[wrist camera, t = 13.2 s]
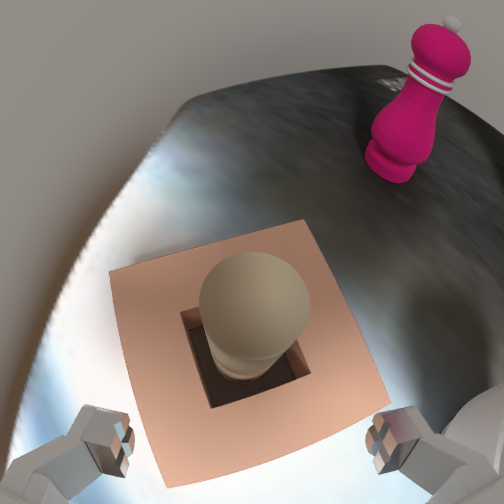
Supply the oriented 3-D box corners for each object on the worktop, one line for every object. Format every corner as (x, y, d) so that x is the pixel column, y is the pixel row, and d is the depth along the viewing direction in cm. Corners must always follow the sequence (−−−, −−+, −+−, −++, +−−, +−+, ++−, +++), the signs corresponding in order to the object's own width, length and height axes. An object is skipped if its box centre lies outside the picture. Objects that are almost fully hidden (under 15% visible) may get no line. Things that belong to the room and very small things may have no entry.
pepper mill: (349, 146, 33) (401, -8, 15) (392, 143, 34) (448, 12, 17) (381, 191, 29) (463, 24, 12) (424, 183, 31) (501, 46, 14)
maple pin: (258, 321, 21) (285, 240, 12) (278, 372, 20) (327, 332, 10) (205, 338, 21) (186, 267, 11) (224, 391, 19) (219, 371, 9)
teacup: (439, 545, 11) (513, 567, 2) (379, 444, 17) (471, 449, 8) (515, 458, 14) (587, 447, 6) (469, 356, 21) (550, 317, 12)
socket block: (293, 247, 25) (303, 219, 21) (364, 405, 19) (391, 402, 15) (126, 294, 22) (108, 271, 18) (178, 474, 15) (167, 488, 12)
